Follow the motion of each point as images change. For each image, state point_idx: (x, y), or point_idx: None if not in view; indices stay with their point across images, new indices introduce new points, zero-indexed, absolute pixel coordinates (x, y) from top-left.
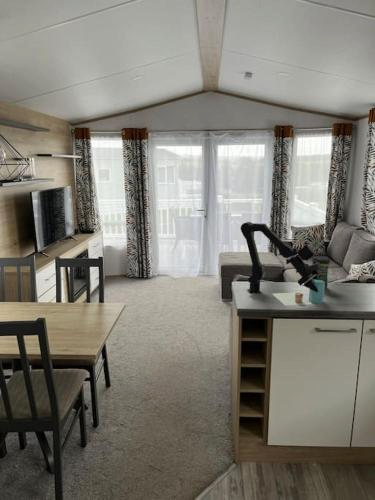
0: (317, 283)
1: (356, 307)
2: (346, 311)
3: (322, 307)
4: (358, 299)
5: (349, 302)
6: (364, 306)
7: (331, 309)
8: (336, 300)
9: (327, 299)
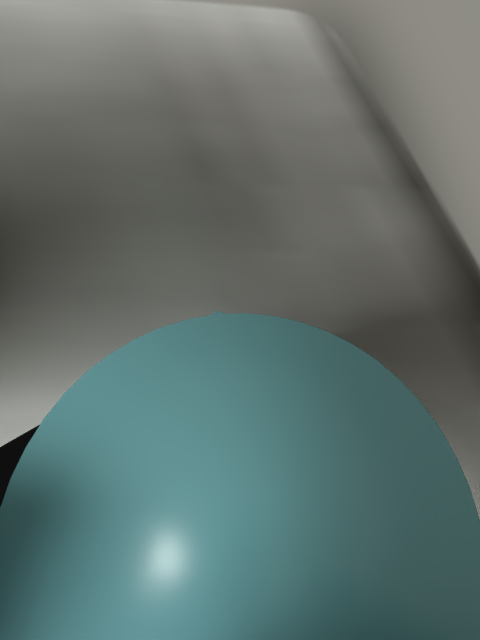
0: (471, 539)
1: (257, 91)
2: (409, 167)
3: (403, 375)
4: (11, 63)
5: (130, 134)
6: (203, 37)
7: (421, 289)
8: (104, 241)
9: (97, 328)
